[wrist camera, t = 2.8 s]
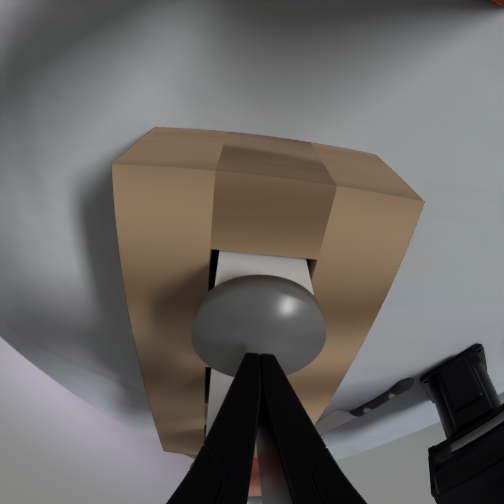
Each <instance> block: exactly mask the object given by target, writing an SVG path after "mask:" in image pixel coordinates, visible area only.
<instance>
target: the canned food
mask: <svg viewBox="0 0 504 504" xmlns="http://www.w3.org/2000/svg"><path fill="white" fill-rule="evenodd" d="M489 1H491V2H494V3H496V4H499V5H502V6H504V0H489Z"/></svg>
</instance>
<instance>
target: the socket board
mask: <svg viewBox="0 0 504 504" xmlns="http://www.w3.org/2000/svg"><path fill="white" fill-rule="evenodd" d="M112 181H113V195H114V208H115V219H116V228H117V238H118V246H119V254H120V262H121V269H122V276H123V282H124V289H125V295H126V301H127V306H128V312H129V317H130V323H131V328H132V333H133V338H134V342H135V347H136V352H137V356H138V361H139V365H140V369H141V373H142V377H143V381H144V385H145V389H146V393H147V397H148V401H149V404H150V408H151V412H152V415H153V419H154V422H155V425H156V429H157V432H158V435H159V438H160V442H161V445H162V448H163V451H166V452H173V453H180V454H188V455H198V453H199V451H200V449H201V446H203V443H204V441H205V438H206V426H207V414H208V403H209V392H210V381H211V370H212V368H211V367H209V366H208V365H207V364H205V363H204V362H203V361H202V360H201V359H200V358H199V356H198V355H197V354H196V352H195V350H194V348H193V345H192V340H191V334H192V327H193V321H194V315H195V311H196V308H197V306H198V304H199V302H200V300H201V299H202V298H203V296H204V295H205V294H206V293H207V292H208V291H210V290H211V289H212V288H214V287H215V280H216V273H217V266H218V258H219V253H217V250H225V251H235V252H246V253H256V254H266V255H276V256H286V257H296V258H306V262H307V267H308V271H309V275H310V280H311V284H312V289H313V293H314V297H315V298H316V299H317V301H318V303H319V305H320V307H321V311H322V315H323V319H324V324H325V328H326V341H325V344H324V347H323V349H322V351H321V352H320V354H319V355H318V356H317V357H316V359H315V360H314V361H313V362H311V363H310V364H309V365H307V366H306V367H304V368H303V369H301V370H299V371H297V372H295V373H292V374H290V375H287V376H286V377H287V378H288V380H289V382H290V384H291V385H292V387H293V389H294V391H295V393H296V394H297V396H298V398H299V400H300V401H301V403H302V405H303V407H304V408H305V410H306V412H307V414H308V415H309V417H310V419H311V421H312V422H313V424H314V425H315V423H316V422H317V420H318V419H319V417H320V416H321V414H322V413H323V411H324V409H325V408H326V406H327V405H328V403H329V401H330V400H331V398H332V396H333V395H334V393H335V391H336V390H337V388H338V386H339V385H340V383H341V381H342V380H343V378H344V376H345V374H346V373H347V371H348V369H349V367H350V366H351V364H352V362H353V360H354V358H355V357H356V355H357V353H358V351H359V349H360V347H361V346H362V344H363V342H364V340H365V338H366V336H367V334H368V332H369V330H370V328H371V326H372V324H373V322H374V320H375V318H376V316H377V314H378V312H379V310H380V308H381V306H382V304H383V302H384V300H385V298H386V296H387V293H388V291H389V289H390V287H391V285H392V282H393V280H394V278H395V276H396V273H397V271H398V269H399V267H400V264H401V262H402V260H403V257H404V255H405V252H406V250H407V248H408V245H409V243H410V240H411V238H412V235H413V233H414V230H415V227H416V225H417V222H418V219H419V217H420V214H421V211H422V209H423V206H424V203H425V202H424V201H423V200H422V199H421V198H420V197H419V195H418V194H417V193H416V192H415V191H414V190H413V189H412V188H411V187H410V186H409V185H408V184H407V183H406V182H405V181H403V180H402V179H401V178H400V177H399V176H398V175H397V174H396V173H395V172H394V171H393V170H392V169H391V168H390V167H389V166H388V165H387V164H386V163H385V162H383V161H382V160H381V159H380V158H379V157H378V156H377V155H374V154H370V153H365V152H360V151H355V150H350V149H345V148H340V147H334V146H329V145H323V144H317V143H311V142H304V141H298V140H291V139H284V138H277V137H269V136H261V135H253V134H244V133H234V132H223V131H212V130H198V129H183V128H162V127H155V128H153V129H152V130H151V131H150V132H148V133H147V134H146V135H145V136H144V137H142V138H141V139H140V140H139V141H138V142H136V143H135V144H134V145H133V146H132V147H131V148H129V149H128V150H127V151H126V152H125V153H124V154H123V155H121V156H120V157H119V158H118V159H117V160H116V161H115V162H114V163H113V164H112Z"/></svg>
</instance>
